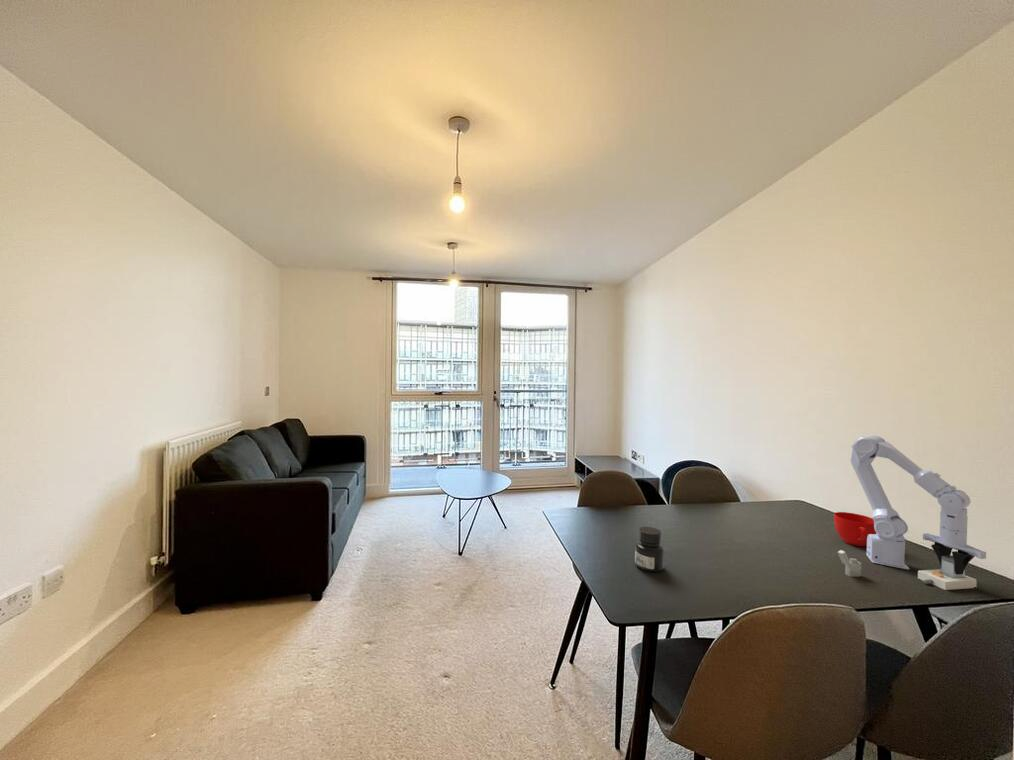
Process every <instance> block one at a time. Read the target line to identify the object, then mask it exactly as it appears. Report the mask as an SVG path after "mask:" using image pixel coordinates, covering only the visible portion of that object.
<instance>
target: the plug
mask: <svg viewBox="0 0 1014 760" xmlns="http://www.w3.org/2000/svg"><path fill="white" fill-rule="evenodd" d="M954 565H955V563H954V558H953V554H952V555H950V556H942V565H940V569H941V574H943V575H945V576H948V577H950V578H953V579H954V578H965V574H966V569H965V570H964V572H963V574H960V575H958V574H955V568H954Z"/></svg>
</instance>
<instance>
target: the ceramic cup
mask: <svg viewBox="0 0 1014 760" xmlns="http://www.w3.org/2000/svg"><path fill="white" fill-rule="evenodd" d="M833 522H834V523H833V524H834V526H835V530H836V532H837V534H838V536H839V537H840V538H841V539H842V540H843V542H845V543H847V544H848V545H852V546H856V547H867V536H868V534H876V531H875V529H874V520H873V517H869V516H866V515H863V514H858V513H855V512H854V513H853V512H845V511H838V512H834V514H833Z"/></svg>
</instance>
